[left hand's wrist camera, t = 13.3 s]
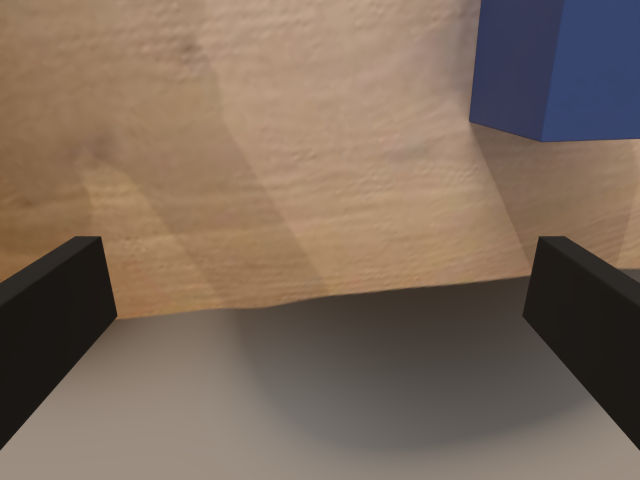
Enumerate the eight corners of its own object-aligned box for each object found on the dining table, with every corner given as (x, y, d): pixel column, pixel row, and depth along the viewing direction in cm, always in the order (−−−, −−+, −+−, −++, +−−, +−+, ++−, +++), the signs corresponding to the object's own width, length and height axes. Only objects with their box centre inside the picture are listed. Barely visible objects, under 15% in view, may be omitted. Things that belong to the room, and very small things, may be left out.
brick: (468, 121, 29) (540, 142, 20) (481, -11, 26) (574, -60, 17) (563, 118, 29) (681, 137, 20) (588, -15, 26) (740, -66, 17)
